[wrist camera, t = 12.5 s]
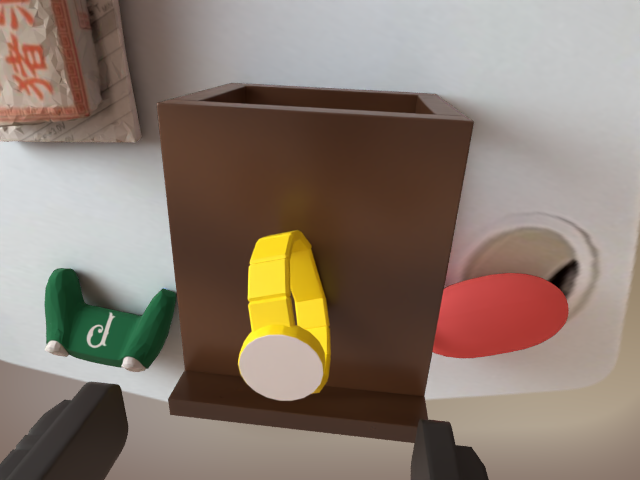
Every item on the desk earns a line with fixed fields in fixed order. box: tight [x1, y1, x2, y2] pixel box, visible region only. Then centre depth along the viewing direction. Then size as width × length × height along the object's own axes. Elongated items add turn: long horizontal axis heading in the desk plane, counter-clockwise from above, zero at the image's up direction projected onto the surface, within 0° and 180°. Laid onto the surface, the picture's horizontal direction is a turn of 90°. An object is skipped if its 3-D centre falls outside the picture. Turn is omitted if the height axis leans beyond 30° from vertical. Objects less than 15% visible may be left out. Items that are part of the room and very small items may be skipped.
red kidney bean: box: [432, 273, 568, 358], centre depth 28 cm, size 5×9×6 cm, turn 96°
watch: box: [238, 230, 331, 401], centre depth 16 cm, size 6×3×6 cm, turn 13°
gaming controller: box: [45, 268, 176, 372], centre depth 32 cm, size 9×4×6 cm
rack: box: [157, 83, 474, 443], centre depth 23 cm, size 14×12×12 cm
